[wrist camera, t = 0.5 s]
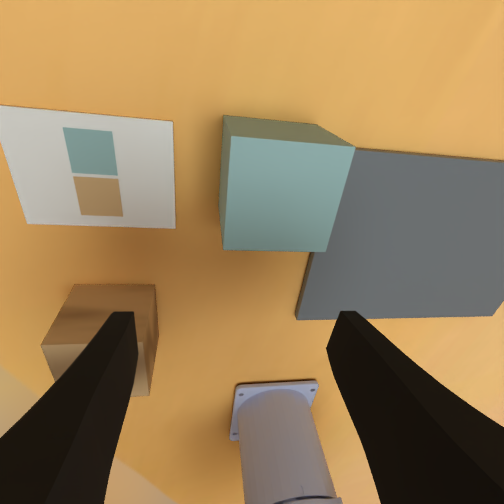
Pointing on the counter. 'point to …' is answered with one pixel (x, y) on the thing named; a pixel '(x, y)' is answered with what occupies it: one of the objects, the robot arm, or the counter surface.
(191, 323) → the counter surface
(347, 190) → the baseplate
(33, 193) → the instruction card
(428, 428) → the robot arm
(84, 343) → the brown wooden cube
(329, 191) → the teal block
